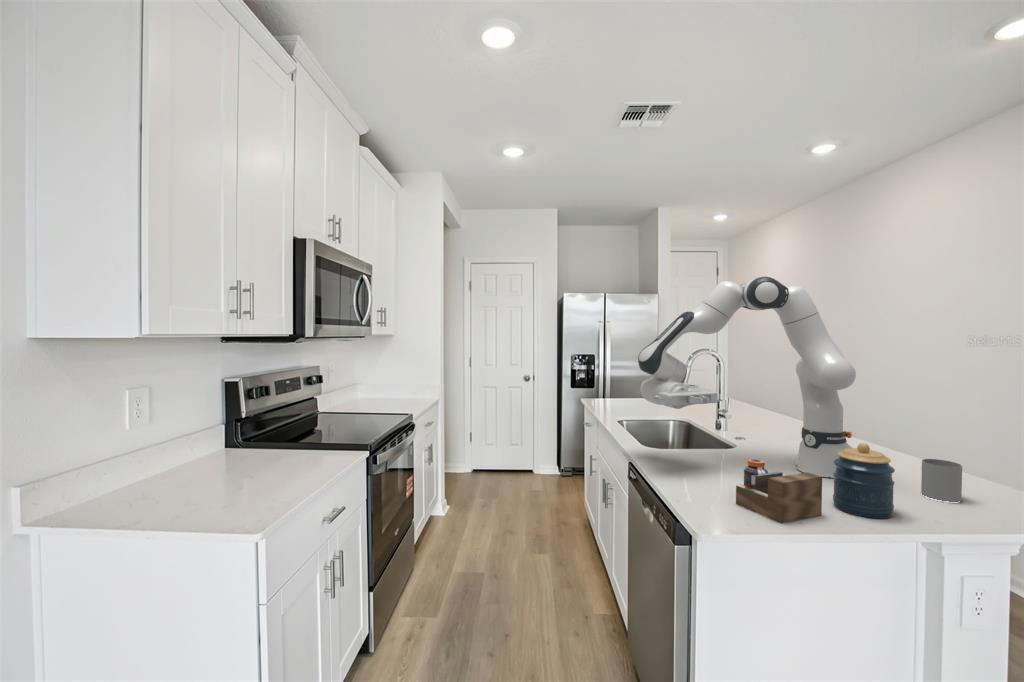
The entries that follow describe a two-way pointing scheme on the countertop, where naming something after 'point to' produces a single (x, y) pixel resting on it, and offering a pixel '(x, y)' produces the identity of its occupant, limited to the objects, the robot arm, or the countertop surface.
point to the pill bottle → (753, 470)
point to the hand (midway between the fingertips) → (705, 401)
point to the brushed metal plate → (762, 481)
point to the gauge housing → (785, 497)
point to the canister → (863, 482)
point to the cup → (941, 480)
